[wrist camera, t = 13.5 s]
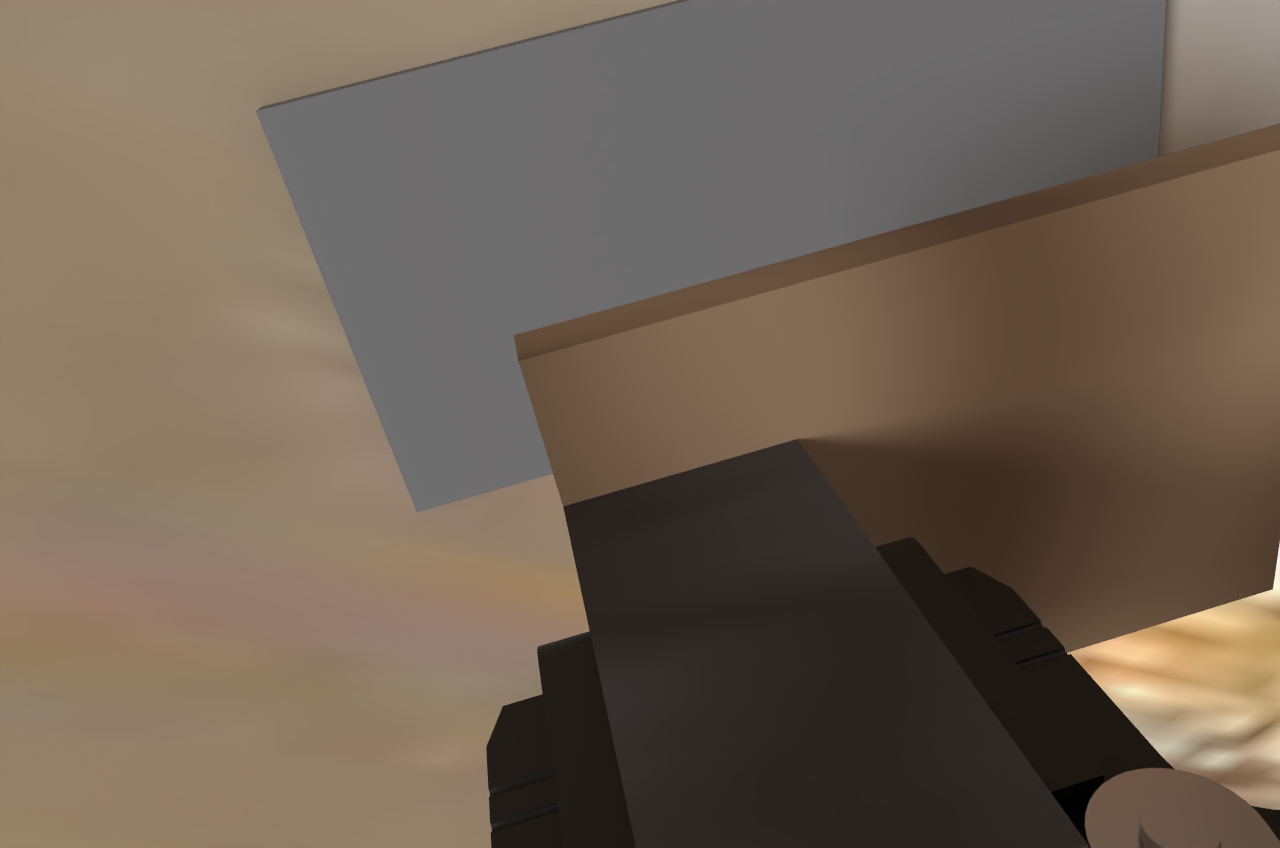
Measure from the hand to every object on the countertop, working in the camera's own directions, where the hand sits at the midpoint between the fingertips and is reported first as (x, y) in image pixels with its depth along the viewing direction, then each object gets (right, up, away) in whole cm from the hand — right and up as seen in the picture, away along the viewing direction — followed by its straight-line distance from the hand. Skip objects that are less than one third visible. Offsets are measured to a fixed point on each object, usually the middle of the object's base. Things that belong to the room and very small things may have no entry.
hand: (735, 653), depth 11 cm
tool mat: (+2, +8, +14) cm, 16 cm away
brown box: (+3, +2, +2) cm, 4 cm away
